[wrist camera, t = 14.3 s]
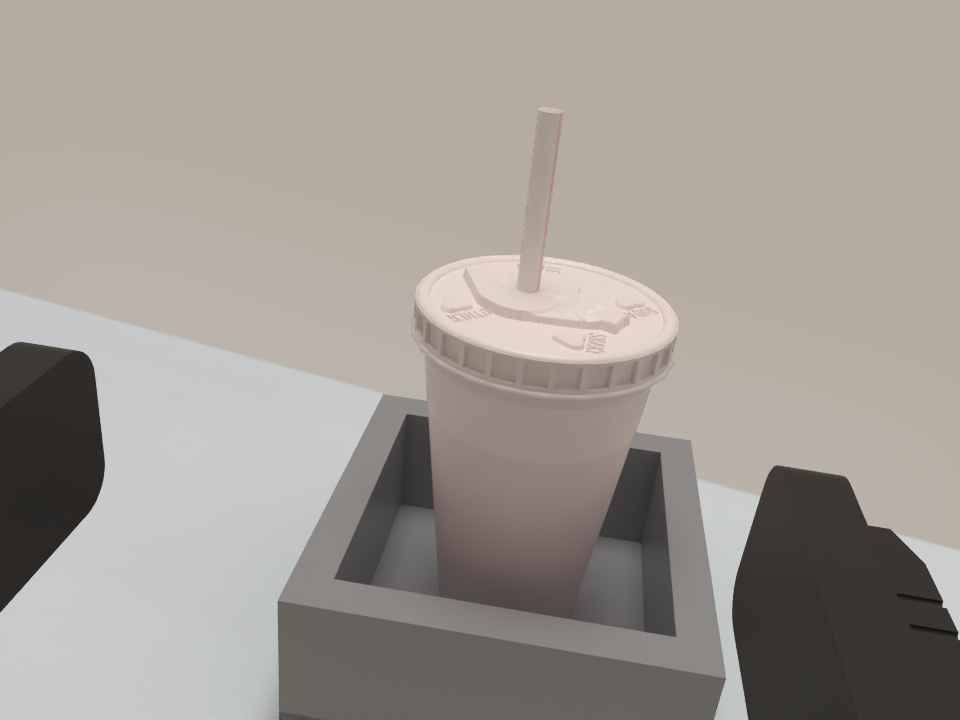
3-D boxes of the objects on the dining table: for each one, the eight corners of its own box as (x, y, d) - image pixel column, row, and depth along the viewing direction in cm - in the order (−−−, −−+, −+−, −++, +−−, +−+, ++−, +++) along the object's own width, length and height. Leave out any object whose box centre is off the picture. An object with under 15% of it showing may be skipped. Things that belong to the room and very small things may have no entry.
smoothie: (474, 512, 29) (523, 78, 23) (651, 598, 26) (763, 126, 20) (345, 620, 24) (362, 103, 18) (545, 740, 21) (649, 172, 15)
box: (279, 740, 22) (277, 600, 20) (377, 506, 31) (383, 394, 29) (685, 815, 21) (726, 678, 19) (664, 553, 30) (690, 440, 28)
